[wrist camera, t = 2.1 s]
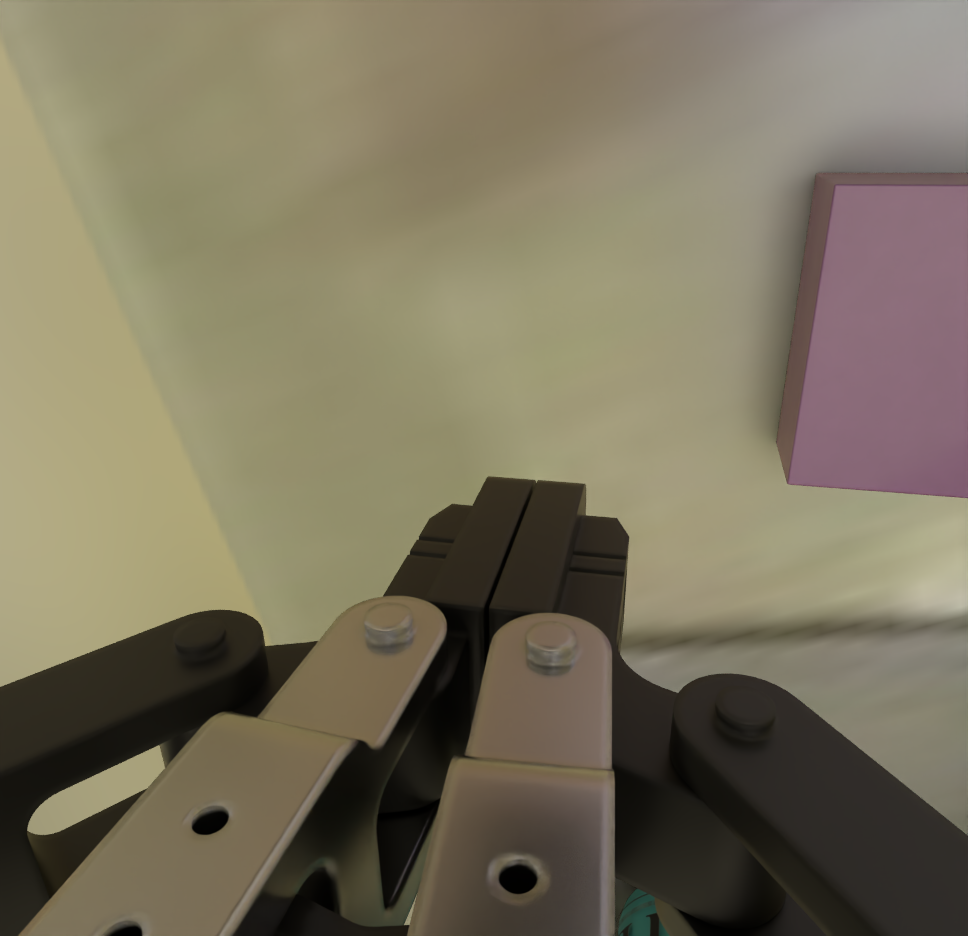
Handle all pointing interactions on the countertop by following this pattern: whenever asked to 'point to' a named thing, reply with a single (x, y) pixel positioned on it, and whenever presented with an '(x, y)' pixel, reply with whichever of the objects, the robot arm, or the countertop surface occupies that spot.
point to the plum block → (881, 338)
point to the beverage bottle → (640, 917)
